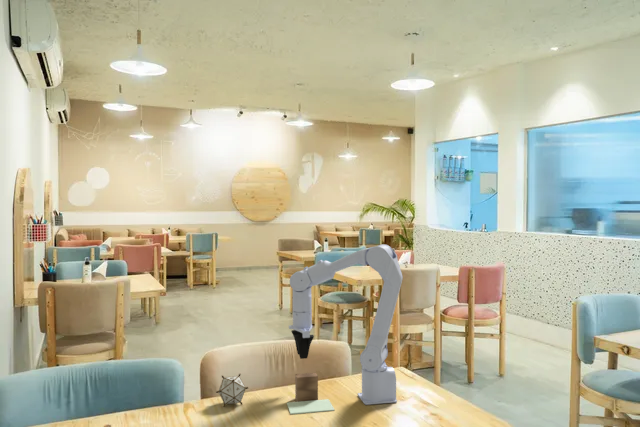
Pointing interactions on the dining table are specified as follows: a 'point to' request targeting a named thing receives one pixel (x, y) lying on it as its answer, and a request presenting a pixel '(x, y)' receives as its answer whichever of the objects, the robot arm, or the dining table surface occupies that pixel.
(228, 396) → the game die
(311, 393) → the walnut frame
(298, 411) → the sage mat
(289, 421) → the dining table surface
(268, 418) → the dining table surface
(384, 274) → the robot arm
